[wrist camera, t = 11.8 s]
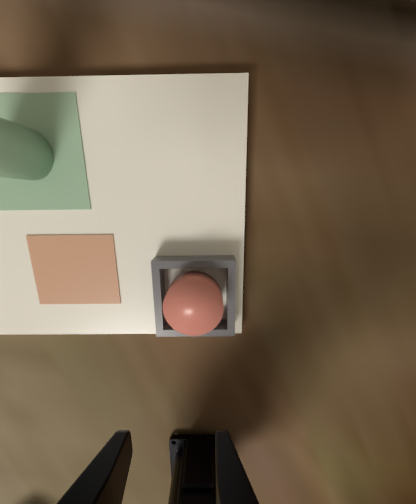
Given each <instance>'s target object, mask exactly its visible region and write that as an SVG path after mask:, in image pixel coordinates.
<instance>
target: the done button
mask: <svg viewBox="0 0 416 504" xmlns="http://www.w3.org/2000/svg"><path fill="white" fill-rule="evenodd" d="M223 311H224V306H223V298H222V291H221V288H220V286H219V284H218V283H217V281H216V280H215V279H214V278H213V277H212V276H210V275H208V274H206V273H203V272H199V271H190V272H186V273H183V274H181V275H179V276H178V277H177V278H175V279H174V280H173V282H172V283H171V285H170V287H169V289H168V291H167V294H166V296H165V298H164V301H163V314H164V317H165V319H166V321H167V322H168V324H169V325H170V326H171V327H172V328H173V329H174V330H176V331H178V332H179V333H182V334H185V335H189V336H198V335H203V334H206V333H208V332H210V331H212V330H213V329H214V328H215V327H216V326H217V325H218V324H219V323H220V321H221V319H222V316H223Z"/></svg>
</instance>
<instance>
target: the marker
mask: <svg viewBox="0 0 416 504" xmlns="http://www.w3.org/2000/svg"><path fill="white" fill-rule="evenodd" d="M53 163H54V155H53V150H52V148H51V146H50V144H49V142H48V141H47V139H46V138H45V137H44V136H43V135H42V134H40V133H39V132H37V131H35V130H33V129H31V128H28V127H25V126H23V125H20V124H17V123H15V122H12V121H9V120H7V119H4V118H1V117H0V177H1V178H12V179H23V180H40V179H42V178H44V177H46V176H47V175H48V174H49V173H50V171H51V170H52V167H53Z"/></svg>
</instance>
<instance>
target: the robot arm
mask: <svg viewBox="0 0 416 504" xmlns="http://www.w3.org/2000/svg"><path fill="white" fill-rule="evenodd" d="M169 447H170V462H171V476H172V480H171V488H170V495H169V502H168V504H259V502H258V500H257V498H256V495H255V493H254V491H253V488H252V486H251V484H250V481H249V479H248V477H247V474H246V472H245V470H244V468H243V465H242V463H241V461H240V458H239V456H238V454H237V451H236V449H235V447H234V444H233V442H232V440H231V437H230V435H229V433H228V431H226V430H217V431H216V432H215V435H172V436H171V437H170V441H169ZM131 458H132V441H131V433H130V431H129V430H119V431H117V432H116V433H115V434H114V435H113V436H112V438H111V439H110V440H109V441H108V442H107V444H106V445H105V446H104V447H103V448H102V450H101V451H100V452H99V453H98V454H97V456H96V457H95V458H94V459H93V460H92V462H91V463H90V464H89V465H88V466H87V468H86V469H85V470H84V471H83V473H82V474H81V475H80V476H79V477H78V479H77V480H76V481H75V482H74V483H73V485H72V486H71V487H70V488H69V489H68V491H67V492H66V493H65V494H64V495H63V497H62V498H61V499H60V500H59V501H58V503H57V504H121V503H122V499H123V494H124V490H125V485H126V481H127V476H128V472H129V467H130V463H131Z"/></svg>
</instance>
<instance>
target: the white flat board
mask: <svg viewBox="0 0 416 504" xmlns="http://www.w3.org/2000/svg"><path fill="white" fill-rule="evenodd" d="M248 80H249V73H214V74H160V75H106V76H52V77H0V117H1V118H4V119H7V120H9V121H12V122H15V123H17V124H20V125H23V126H25V127H28V128H31V129H33V130H35V131H37V132H39V133H40V134H42V135H43V136H44V137H45V138H46V139H47V141H48V142H49V144H50V146H51V148H52V150H53V155H54V163H53V167H52V170H51V171H50V173H49V174H48V175H47V176H46V177H44V178H42V179H40V180H23V179H12V178H1V177H0V334H156V337H162V336H189V335H185V334H182V333H179V332H178V331H176V330H174V329H173V328H172V327H171V326H170V325H169V324H168V322H167V321H166V319H165V317H164V314H163V301H164V298H165V296H166V294H167V291H168V289H169V287H170V285H171V283H172V282H173V280H174V279H175V278H177V277H178V276H179V275H181V274H183V273H186V272H190V271H199V272H203V273H206V274H208V275H210V276H212V277H213V278H214V279H215V280H216V281H217V283H218V284H219V286H220V288H221V291H222V298H223V306H224V311H223V316H222V319H221V321H220V323H219V324H218V325H217V326H216V327H215V328H214V329H213V330H212V331H210V332H208V333H206V334H203V335H198V336H235V333H242V303H243V266H244V228H245V191H246V154H247V117H248Z"/></svg>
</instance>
